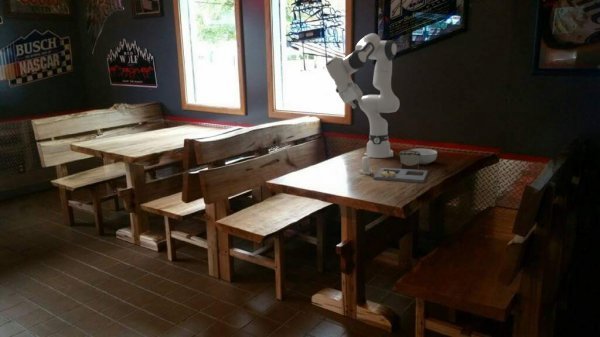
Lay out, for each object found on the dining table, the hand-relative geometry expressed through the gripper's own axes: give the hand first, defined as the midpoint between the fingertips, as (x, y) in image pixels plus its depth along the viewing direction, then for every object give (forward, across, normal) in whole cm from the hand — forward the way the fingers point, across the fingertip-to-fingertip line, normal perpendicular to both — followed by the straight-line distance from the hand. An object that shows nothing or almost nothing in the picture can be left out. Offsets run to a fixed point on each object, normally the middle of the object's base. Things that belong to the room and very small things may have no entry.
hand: (358, 106), depth 272 cm
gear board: (+44, -10, +4) cm, 45 cm away
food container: (+47, +3, -10) cm, 48 cm away
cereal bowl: (+51, +12, -22) cm, 57 cm away
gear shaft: (+34, +3, +15) cm, 37 cm away
